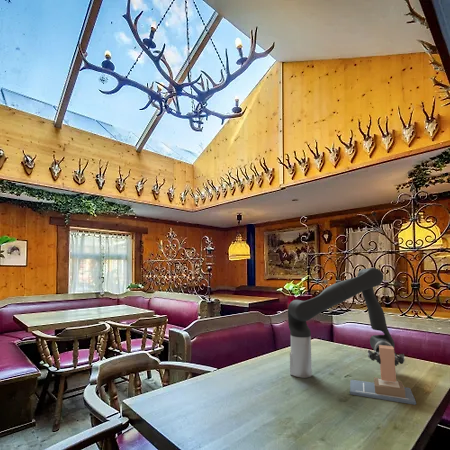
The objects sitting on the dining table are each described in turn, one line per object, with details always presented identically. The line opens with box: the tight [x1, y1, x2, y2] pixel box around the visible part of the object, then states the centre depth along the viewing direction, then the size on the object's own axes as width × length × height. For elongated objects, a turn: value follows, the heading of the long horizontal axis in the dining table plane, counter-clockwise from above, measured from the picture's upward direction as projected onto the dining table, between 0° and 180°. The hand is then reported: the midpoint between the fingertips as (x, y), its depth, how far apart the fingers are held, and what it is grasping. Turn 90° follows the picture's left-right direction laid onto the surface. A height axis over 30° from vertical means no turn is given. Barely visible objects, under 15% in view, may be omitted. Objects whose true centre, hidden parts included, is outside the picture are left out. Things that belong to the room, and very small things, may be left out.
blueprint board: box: [349, 377, 417, 406], centre depth 120 cm, size 22×14×4 cm, turn 66°
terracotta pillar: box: [379, 345, 397, 382], centre depth 120 cm, size 5×5×12 cm
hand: (387, 362), depth 118 cm, fingers closed on terracotta pillar, 5 cm apart
